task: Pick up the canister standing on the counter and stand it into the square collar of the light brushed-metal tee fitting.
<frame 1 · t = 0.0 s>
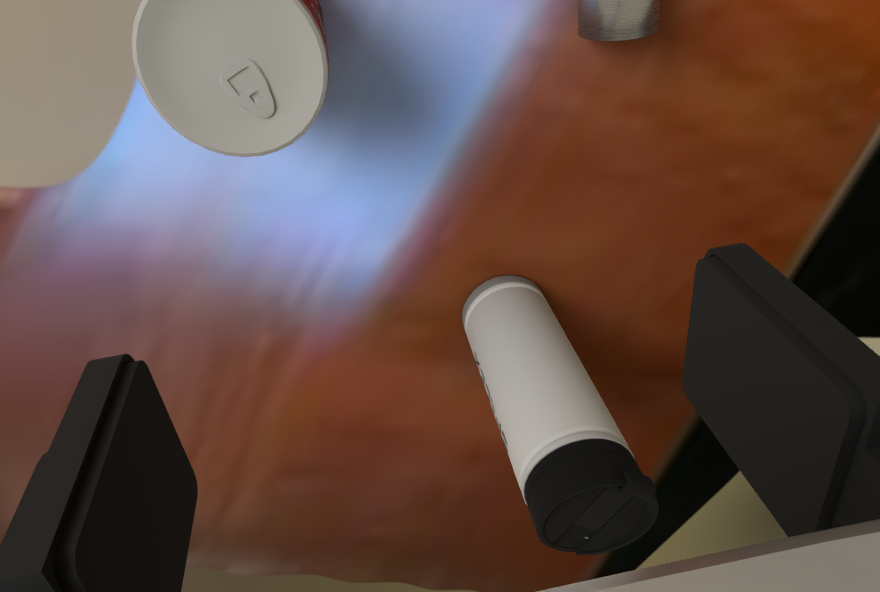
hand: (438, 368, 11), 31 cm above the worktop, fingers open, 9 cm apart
travel mug: (503, 307, 50), on the worktop
canned food: (251, 16, 37), on the worktop
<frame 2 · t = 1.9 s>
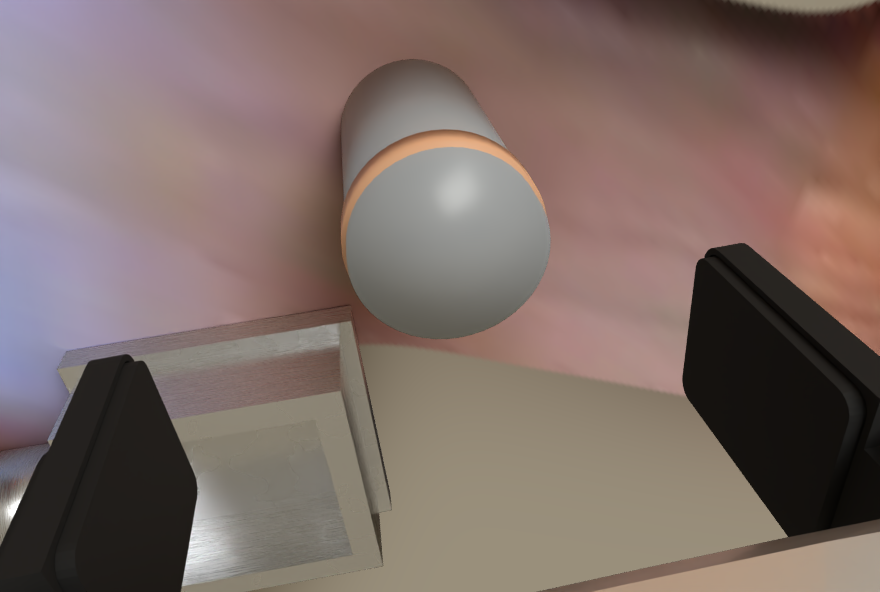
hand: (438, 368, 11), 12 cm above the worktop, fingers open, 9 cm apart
fitting: (246, 429, 27), on the worktop
canister: (411, 131, 21), on the worktop
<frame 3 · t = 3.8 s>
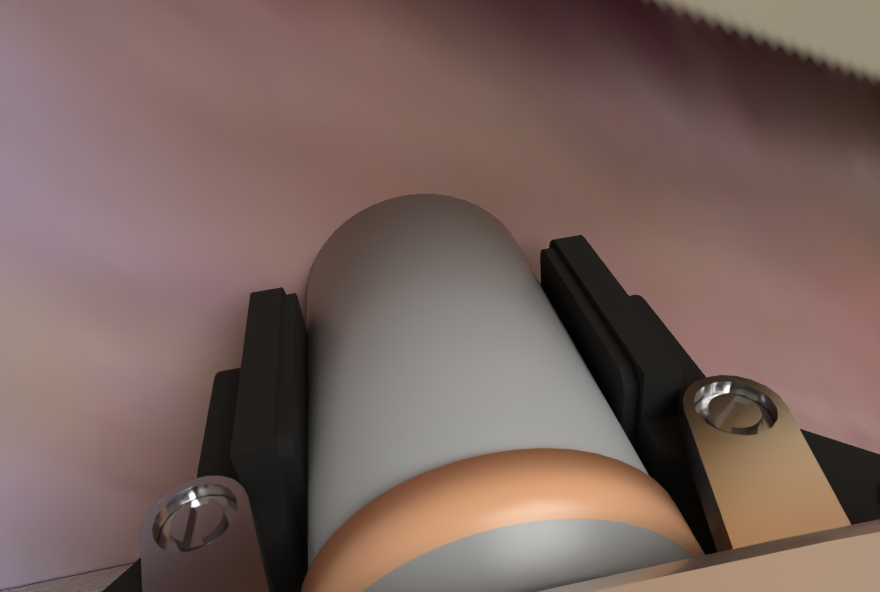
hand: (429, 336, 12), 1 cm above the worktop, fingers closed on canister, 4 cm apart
canister: (419, 296, 13), on the worktop, touching gripper
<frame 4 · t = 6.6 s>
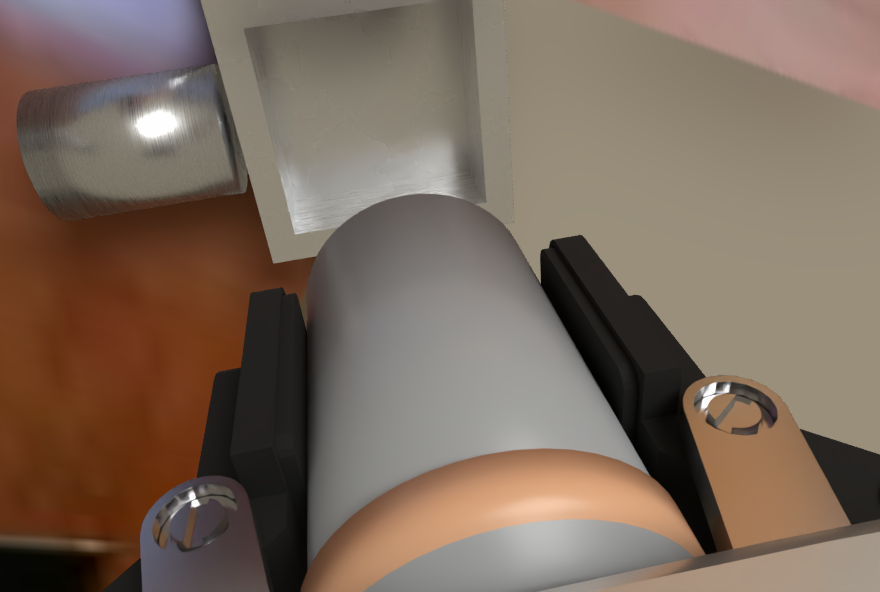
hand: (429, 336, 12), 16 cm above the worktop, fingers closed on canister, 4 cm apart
fitting: (368, 91, 26), on the worktop
canister: (419, 296, 13), point 15 cm above the worktop, touching gripper
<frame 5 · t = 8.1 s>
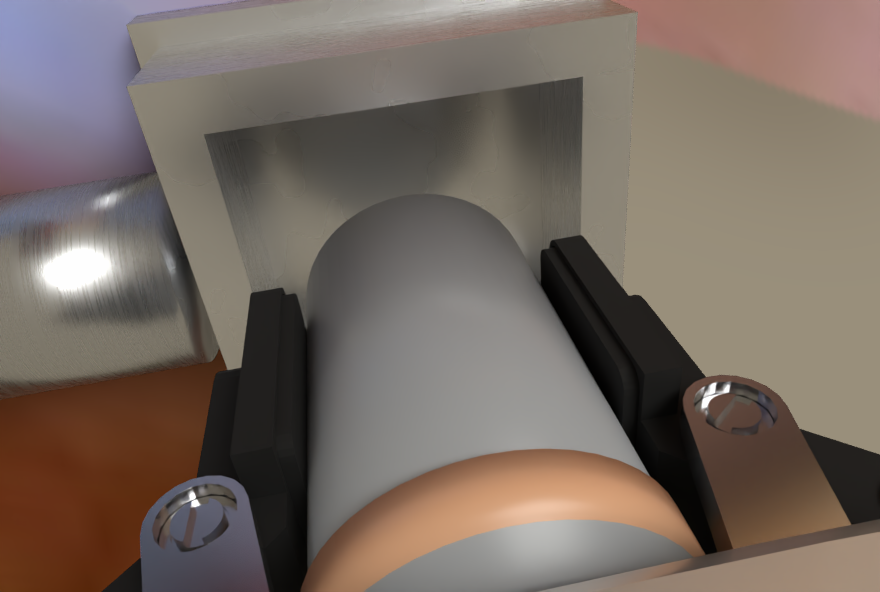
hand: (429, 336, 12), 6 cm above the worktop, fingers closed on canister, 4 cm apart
fitting: (399, 192, 18), on the worktop
canister: (419, 296, 13), point 5 cm above the worktop, touching gripper
when the fingers open (4 cm above the worktop, at t = 9.3 s): canister drops 2 cm, resting on fitting.
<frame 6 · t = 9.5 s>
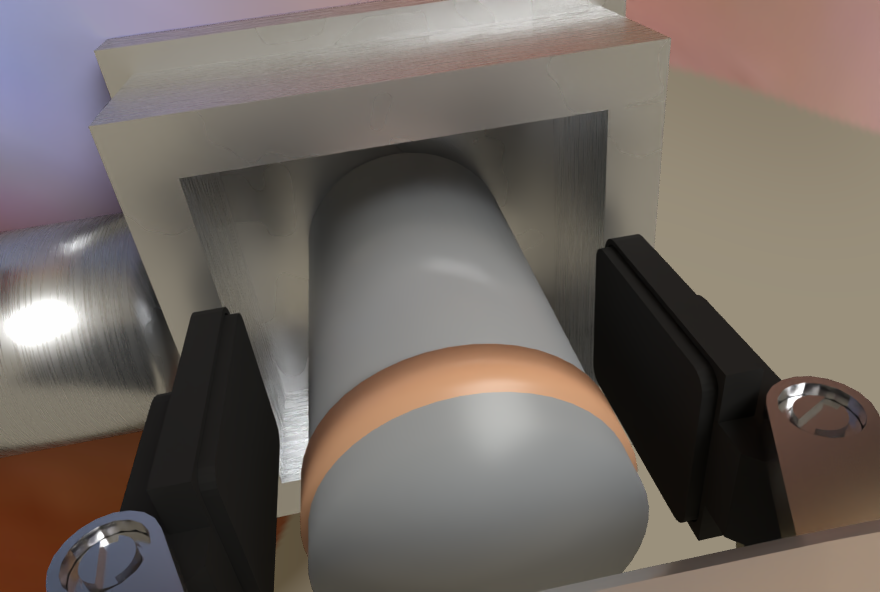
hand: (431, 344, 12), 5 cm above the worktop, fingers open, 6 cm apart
fitting: (399, 227, 16), on the worktop
canister: (408, 245, 15), point 1 cm above the worktop, touching fitting
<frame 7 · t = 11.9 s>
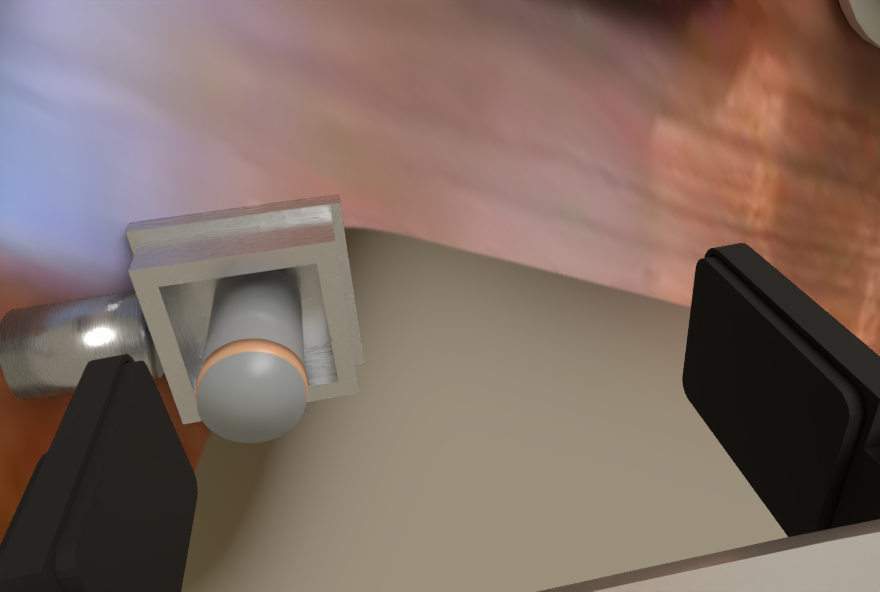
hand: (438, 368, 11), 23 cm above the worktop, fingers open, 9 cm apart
fitting: (257, 294, 36), on the worktop
canister: (257, 303, 35), point 1 cm above the worktop, touching fitting
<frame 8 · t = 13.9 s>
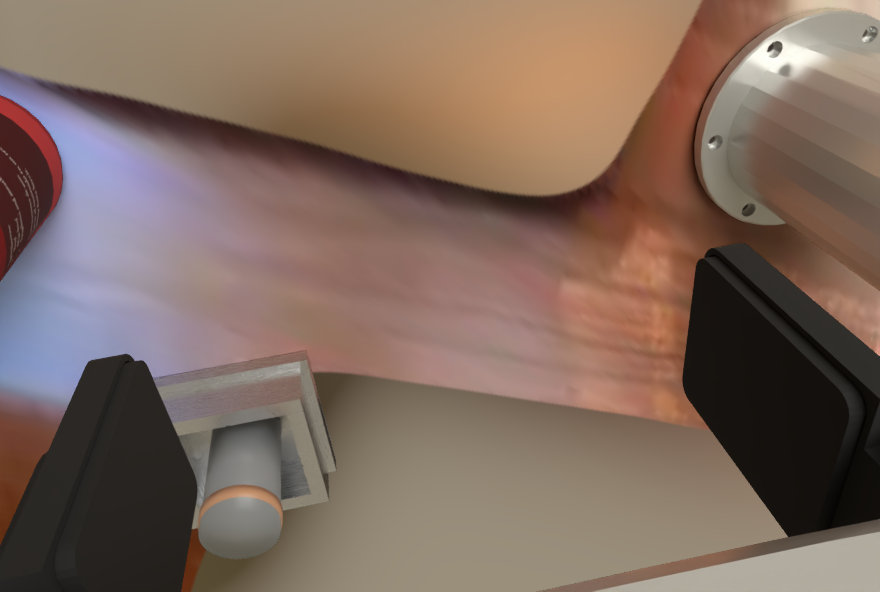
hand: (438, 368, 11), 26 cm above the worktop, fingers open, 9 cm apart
fitting: (247, 423, 45), on the worktop
canister: (247, 433, 44), point 1 cm above the worktop, touching fitting
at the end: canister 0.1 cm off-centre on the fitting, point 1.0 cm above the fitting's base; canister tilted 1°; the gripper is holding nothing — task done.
